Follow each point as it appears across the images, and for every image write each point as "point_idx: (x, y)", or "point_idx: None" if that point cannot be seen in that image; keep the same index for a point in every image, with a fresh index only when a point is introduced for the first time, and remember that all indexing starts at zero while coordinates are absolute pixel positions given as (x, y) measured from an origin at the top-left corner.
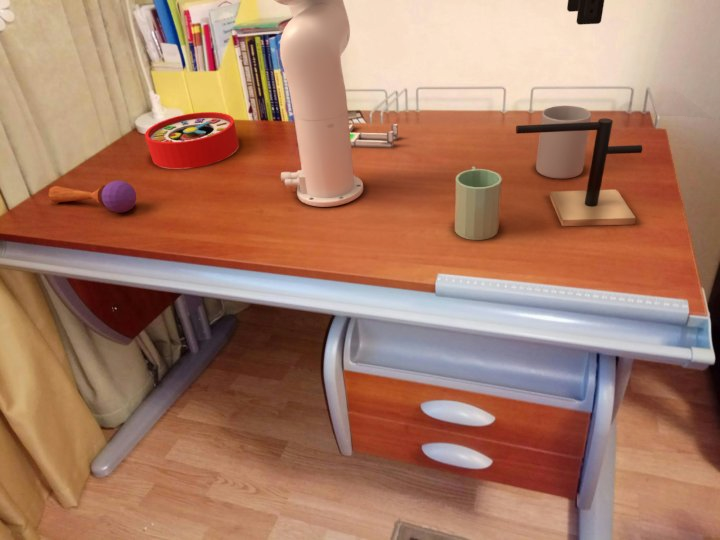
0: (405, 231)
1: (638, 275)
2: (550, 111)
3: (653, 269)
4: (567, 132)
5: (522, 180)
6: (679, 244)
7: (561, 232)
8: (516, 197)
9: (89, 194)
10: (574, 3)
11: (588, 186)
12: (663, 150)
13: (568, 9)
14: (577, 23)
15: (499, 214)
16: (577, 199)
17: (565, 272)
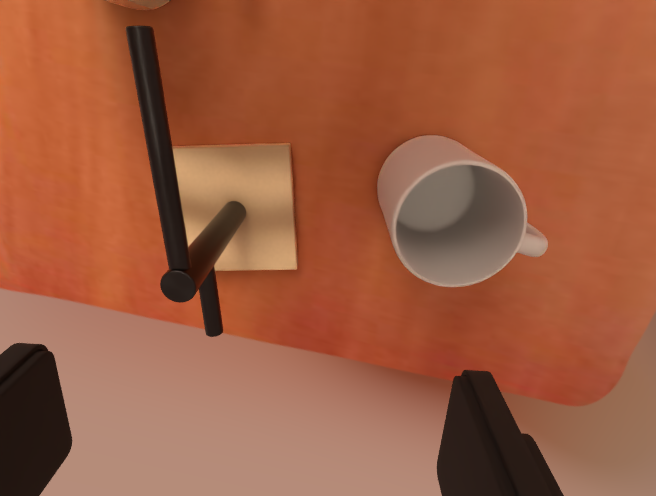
0: None
1: (35, 231)
2: (511, 190)
3: (57, 255)
4: (388, 212)
5: (379, 95)
6: (136, 308)
7: None
8: (293, 69)
9: None
10: (460, 433)
11: (220, 213)
12: None
13: (462, 377)
14: (19, 343)
15: (118, 4)
16: (252, 191)
17: (15, 123)
